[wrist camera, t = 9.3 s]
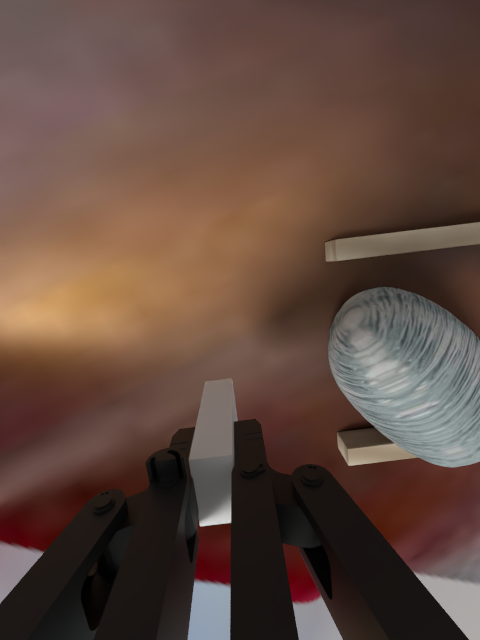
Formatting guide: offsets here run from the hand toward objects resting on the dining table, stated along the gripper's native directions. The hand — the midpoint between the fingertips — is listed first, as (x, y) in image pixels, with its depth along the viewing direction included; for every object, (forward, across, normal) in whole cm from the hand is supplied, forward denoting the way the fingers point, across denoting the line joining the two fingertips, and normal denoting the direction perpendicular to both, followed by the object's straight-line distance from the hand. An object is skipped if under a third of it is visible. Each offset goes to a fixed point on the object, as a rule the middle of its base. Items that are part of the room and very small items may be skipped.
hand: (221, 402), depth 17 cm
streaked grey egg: (+9, +13, -2) cm, 16 cm away
